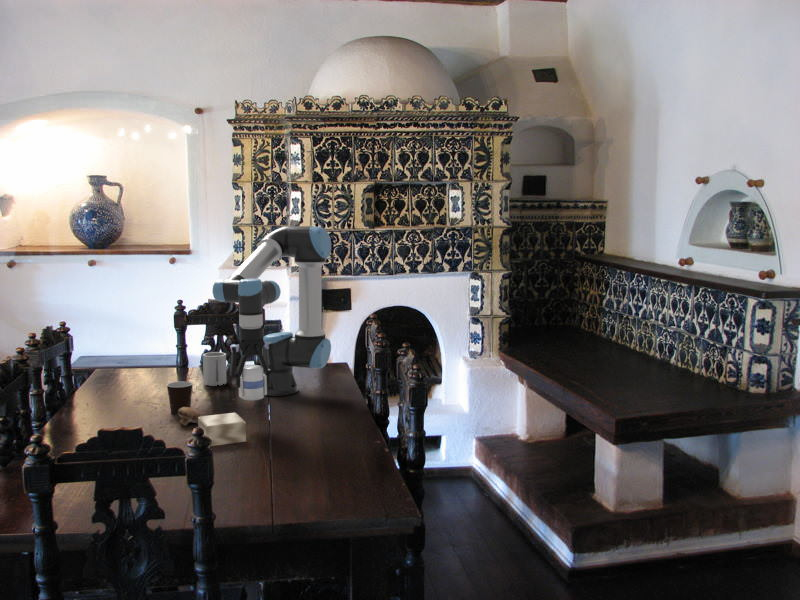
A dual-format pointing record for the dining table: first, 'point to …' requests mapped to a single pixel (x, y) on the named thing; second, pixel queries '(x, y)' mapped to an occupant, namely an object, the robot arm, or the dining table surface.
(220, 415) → the birch block
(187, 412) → the mushroom
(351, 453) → the dining table surface
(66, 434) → the dining table surface
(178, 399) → the coffee mug
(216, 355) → the cup
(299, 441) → the dining table surface
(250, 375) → the white blue-banded canister
